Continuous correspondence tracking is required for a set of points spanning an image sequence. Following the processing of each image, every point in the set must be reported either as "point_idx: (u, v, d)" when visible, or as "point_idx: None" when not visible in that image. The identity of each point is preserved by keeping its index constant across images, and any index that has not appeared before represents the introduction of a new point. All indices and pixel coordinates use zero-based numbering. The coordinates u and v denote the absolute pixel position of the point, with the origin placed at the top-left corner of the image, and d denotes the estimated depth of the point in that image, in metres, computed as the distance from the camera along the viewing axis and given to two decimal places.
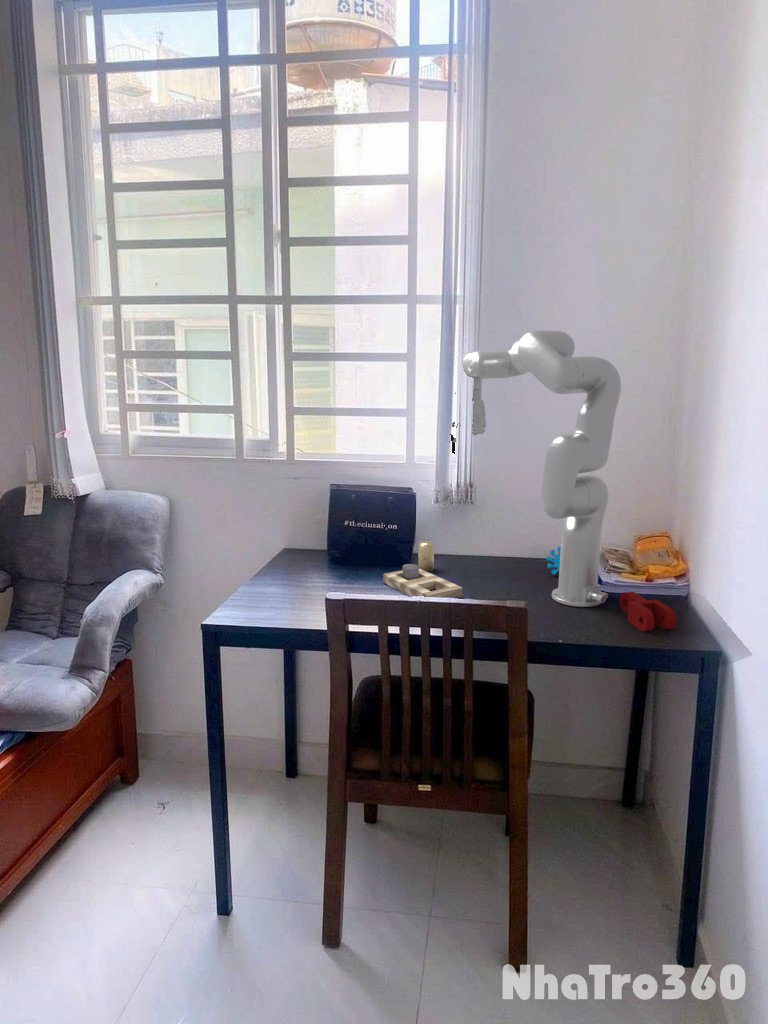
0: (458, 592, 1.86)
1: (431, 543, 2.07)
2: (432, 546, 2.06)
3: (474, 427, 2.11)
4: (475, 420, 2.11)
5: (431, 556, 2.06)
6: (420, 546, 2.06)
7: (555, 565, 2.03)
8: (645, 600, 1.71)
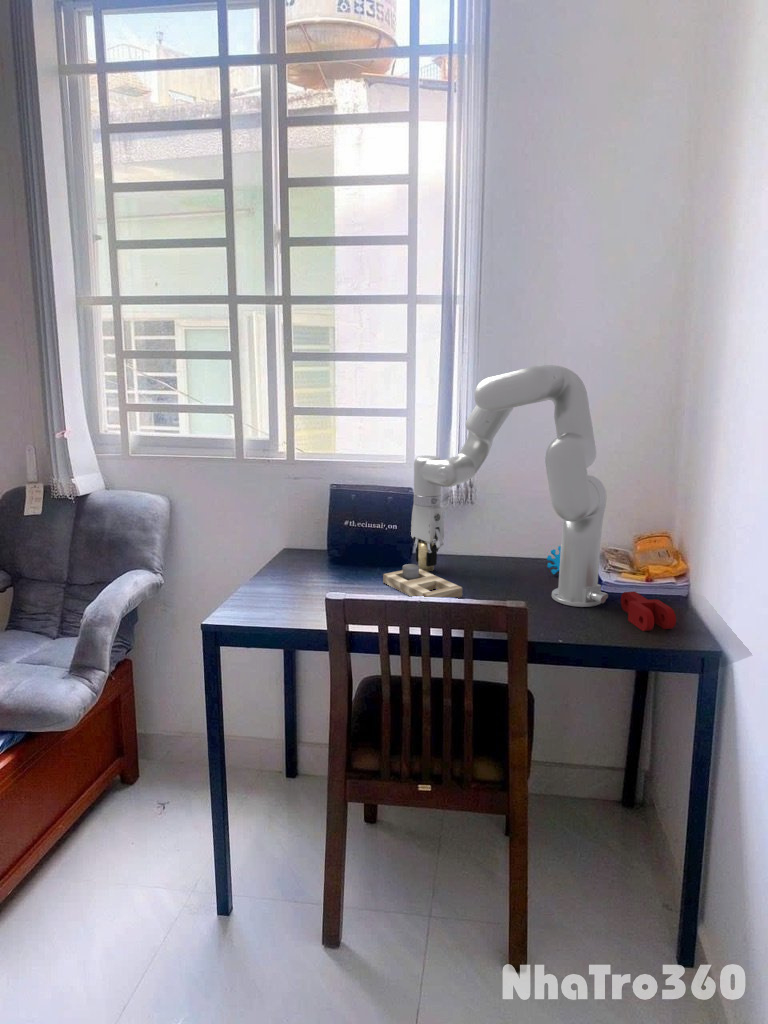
0: (458, 592, 1.86)
1: None
2: None
3: None
4: None
5: None
6: (420, 546, 2.06)
7: (555, 564, 2.04)
8: (646, 600, 1.72)
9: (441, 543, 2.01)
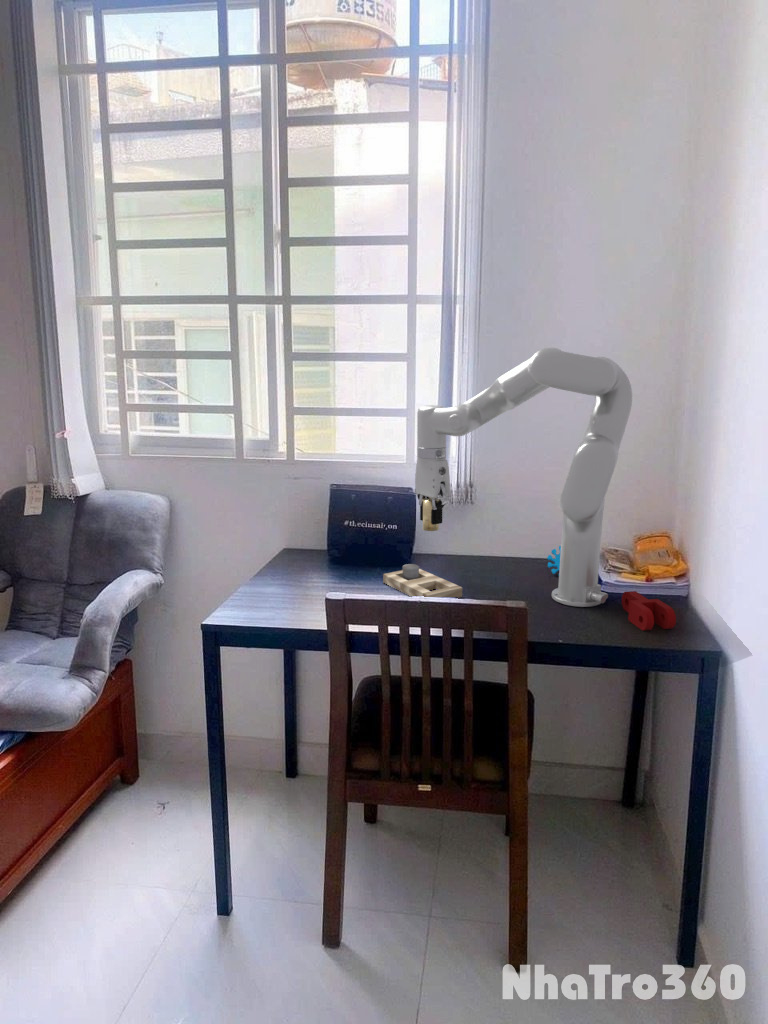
0: (458, 592, 1.86)
1: (436, 500, 1.93)
2: None
3: None
4: None
5: None
6: (424, 503, 1.92)
7: (555, 564, 2.04)
8: (646, 599, 1.72)
9: (446, 498, 1.87)
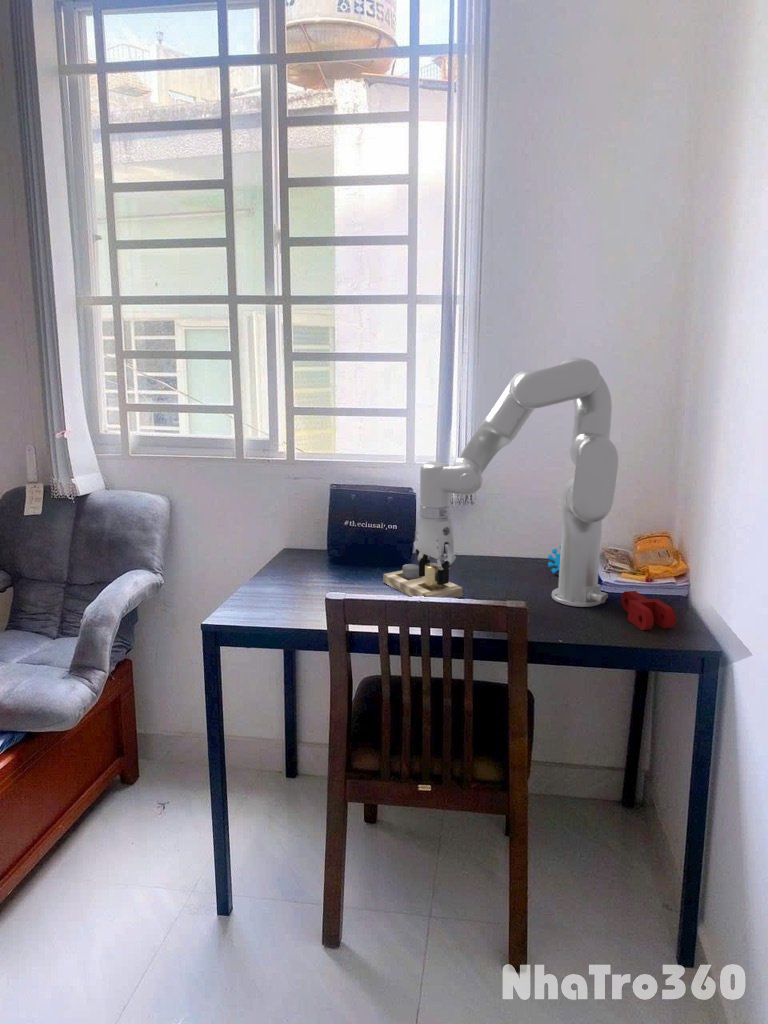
0: (458, 592, 1.86)
1: None
2: None
3: None
4: None
5: None
6: (427, 569, 1.85)
7: (556, 564, 2.05)
8: (646, 599, 1.72)
9: (453, 557, 1.79)
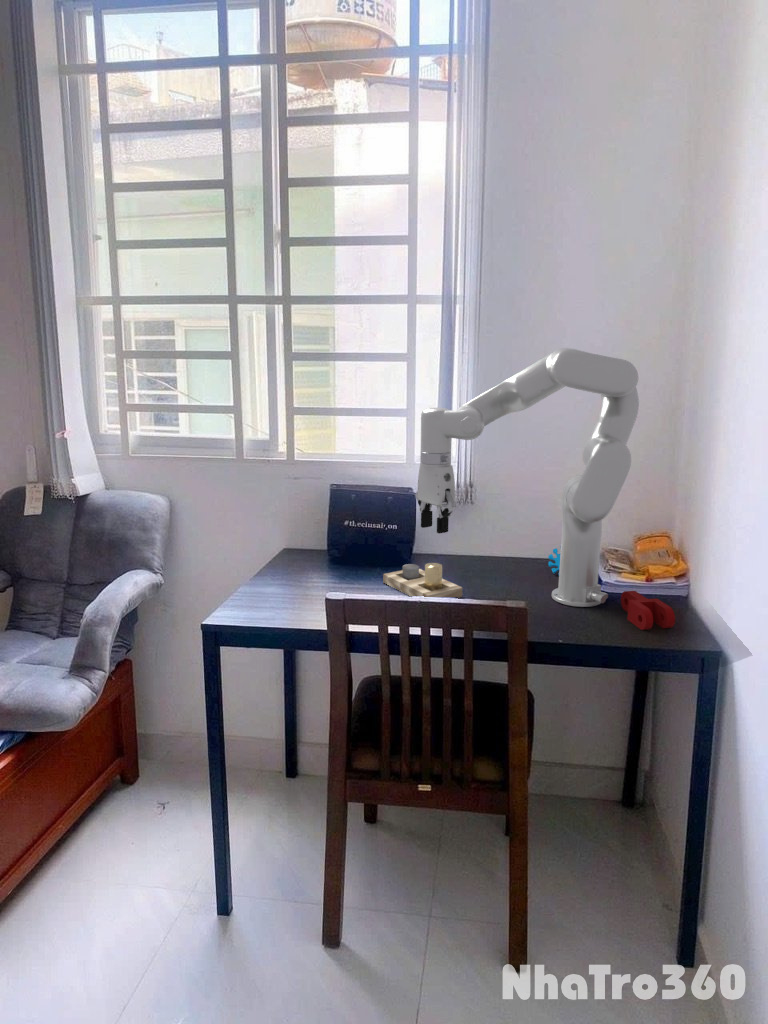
0: (458, 592, 1.86)
1: (439, 566, 1.86)
2: (440, 569, 1.85)
3: None
4: None
5: (439, 580, 1.86)
6: (427, 569, 1.85)
7: (556, 563, 2.05)
8: (645, 599, 1.72)
9: (453, 505, 1.76)
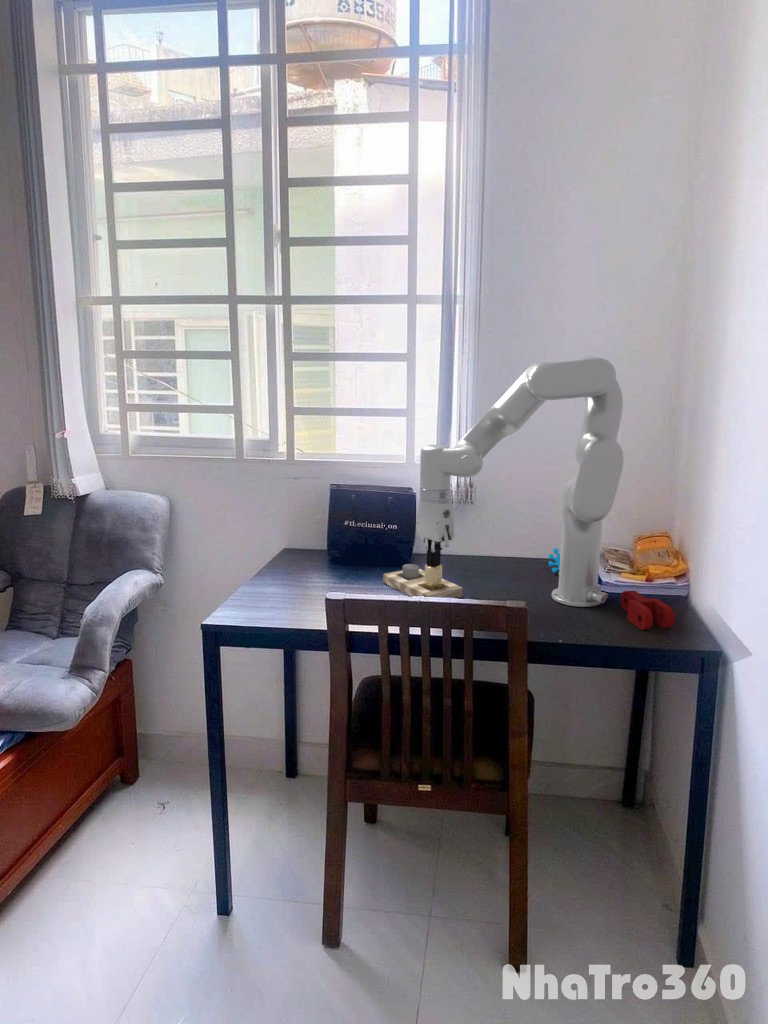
0: (458, 592, 1.86)
1: (439, 566, 1.86)
2: (440, 569, 1.85)
3: None
4: None
5: (439, 580, 1.86)
6: (427, 569, 1.85)
7: (556, 563, 2.05)
8: (645, 599, 1.72)
9: (446, 545, 1.81)
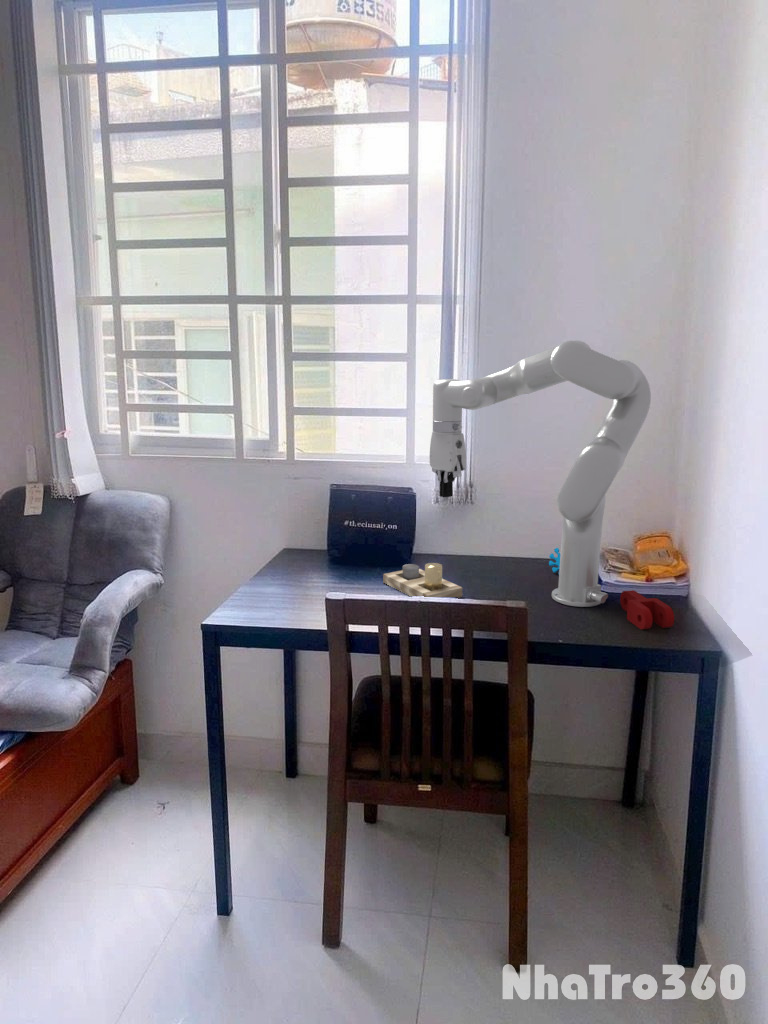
0: (458, 592, 1.86)
1: (439, 566, 1.86)
2: (440, 569, 1.85)
3: None
4: None
5: (439, 580, 1.86)
6: (427, 569, 1.85)
7: (556, 563, 2.05)
8: (644, 599, 1.72)
9: (459, 474, 1.89)
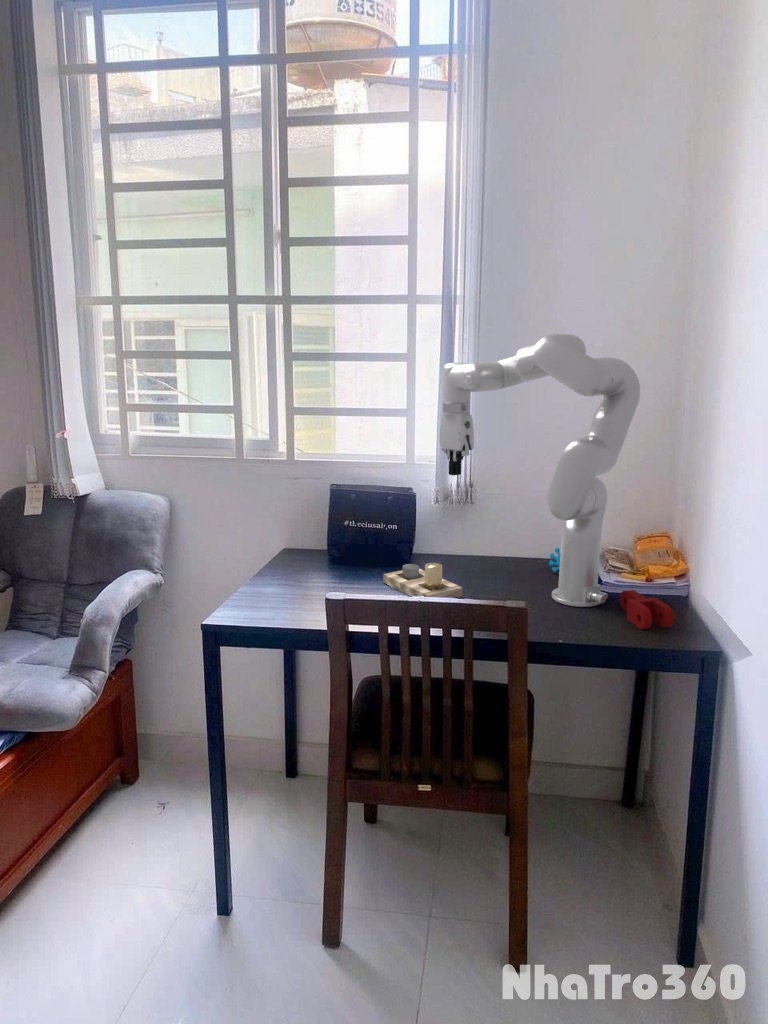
0: (458, 592, 1.86)
1: (439, 566, 1.86)
2: (440, 569, 1.85)
3: None
4: None
5: (439, 580, 1.86)
6: (427, 569, 1.85)
7: (557, 563, 2.06)
8: (644, 598, 1.72)
9: (467, 453, 2.00)
